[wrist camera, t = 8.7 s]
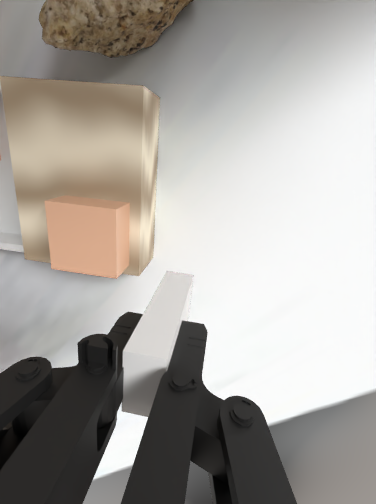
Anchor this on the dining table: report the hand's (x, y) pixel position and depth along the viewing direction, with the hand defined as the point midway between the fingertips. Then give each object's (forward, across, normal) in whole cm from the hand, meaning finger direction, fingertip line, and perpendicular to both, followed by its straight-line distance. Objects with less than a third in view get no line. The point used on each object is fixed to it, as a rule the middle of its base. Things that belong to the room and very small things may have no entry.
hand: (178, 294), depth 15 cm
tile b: (+10, -9, 0) cm, 13 cm away
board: (+15, -11, +4) cm, 19 cm away
